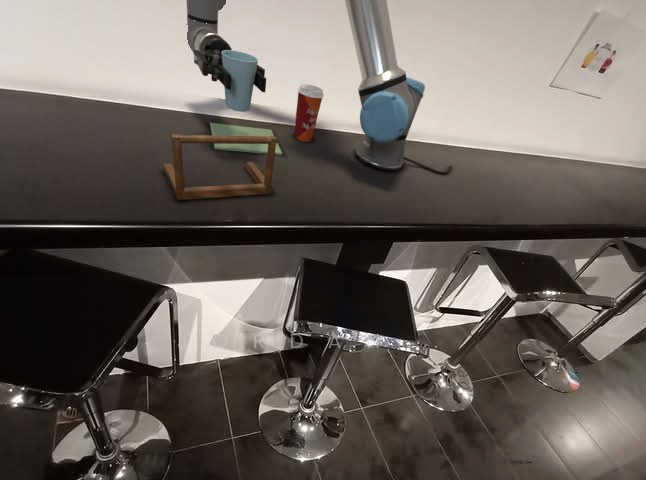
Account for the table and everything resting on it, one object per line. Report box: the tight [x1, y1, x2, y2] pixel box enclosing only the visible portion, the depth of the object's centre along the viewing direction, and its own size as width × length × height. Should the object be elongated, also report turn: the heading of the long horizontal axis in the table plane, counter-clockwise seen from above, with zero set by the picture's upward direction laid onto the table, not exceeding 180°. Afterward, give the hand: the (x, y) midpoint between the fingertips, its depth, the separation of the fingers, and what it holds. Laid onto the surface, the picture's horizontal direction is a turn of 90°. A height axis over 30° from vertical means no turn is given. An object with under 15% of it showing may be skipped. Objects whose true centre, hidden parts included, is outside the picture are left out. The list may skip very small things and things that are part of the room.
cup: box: [222, 49, 259, 113], centre depth 77 cm, size 8×8×10 cm
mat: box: [209, 122, 283, 156], centre depth 97 cm, size 18×16×1 cm
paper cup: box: [293, 83, 325, 143], centre depth 102 cm, size 8×8×14 cm
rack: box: [163, 133, 278, 201], centre depth 73 cm, size 21×12×13 cm, turn 119°
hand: (247, 83), depth 74 cm, fingers closed on cup, 7 cm apart
